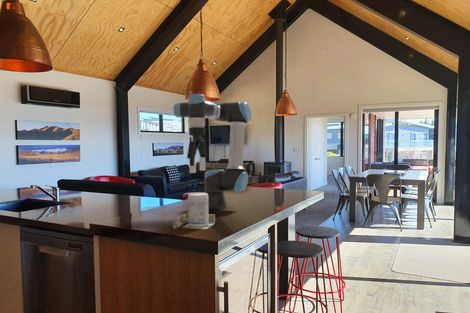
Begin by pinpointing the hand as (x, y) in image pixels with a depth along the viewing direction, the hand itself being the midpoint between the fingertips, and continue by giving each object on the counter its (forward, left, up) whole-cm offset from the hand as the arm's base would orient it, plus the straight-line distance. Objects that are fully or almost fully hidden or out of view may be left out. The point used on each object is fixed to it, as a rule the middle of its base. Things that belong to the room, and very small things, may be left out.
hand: (197, 171), depth 159 cm
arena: (+3, 0, -25) cm, 25 cm away
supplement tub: (+4, +2, -25) cm, 25 cm away
